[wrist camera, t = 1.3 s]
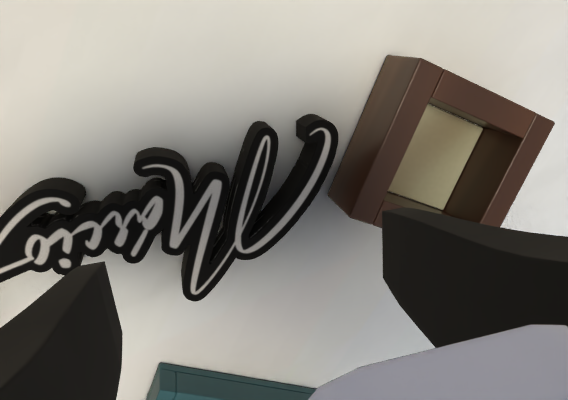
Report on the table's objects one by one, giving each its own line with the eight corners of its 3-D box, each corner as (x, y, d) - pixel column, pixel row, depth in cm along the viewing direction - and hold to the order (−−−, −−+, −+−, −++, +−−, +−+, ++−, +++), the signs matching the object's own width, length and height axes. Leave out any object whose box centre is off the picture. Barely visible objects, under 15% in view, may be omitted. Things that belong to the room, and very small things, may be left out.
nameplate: (317, 26, 18) (359, 246, 22) (306, 27, 20) (348, 233, 24) (-510, 244, 15) (-289, 465, 18) (-451, 225, 16) (-256, 434, 20)
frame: (510, 112, 24) (556, 122, 21) (448, 235, 25) (483, 260, 22) (386, 54, 21) (420, 57, 18) (326, 195, 23) (349, 217, 20)
